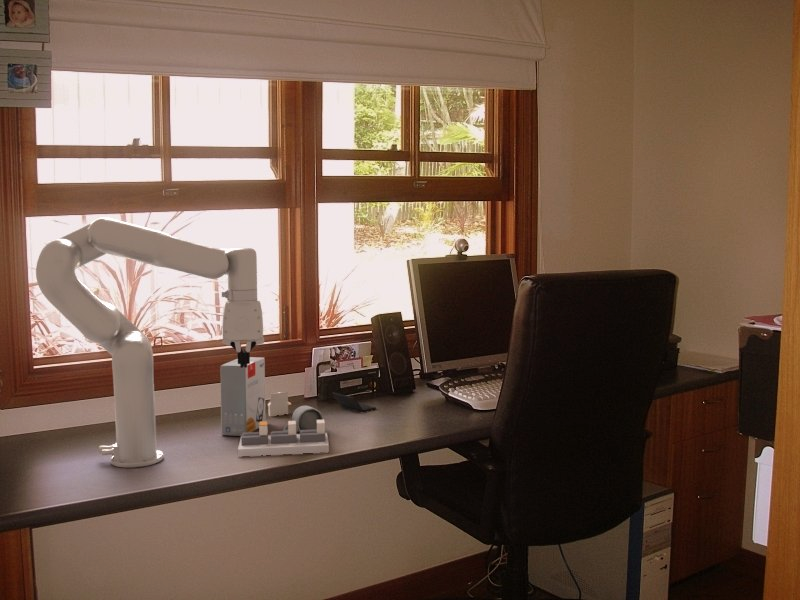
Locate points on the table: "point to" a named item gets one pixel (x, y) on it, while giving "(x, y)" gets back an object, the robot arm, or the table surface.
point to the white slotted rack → (285, 441)
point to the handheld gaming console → (352, 403)
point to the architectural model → (278, 404)
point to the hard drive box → (242, 396)
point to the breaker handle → (263, 428)
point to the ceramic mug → (305, 418)
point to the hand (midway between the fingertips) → (243, 366)
